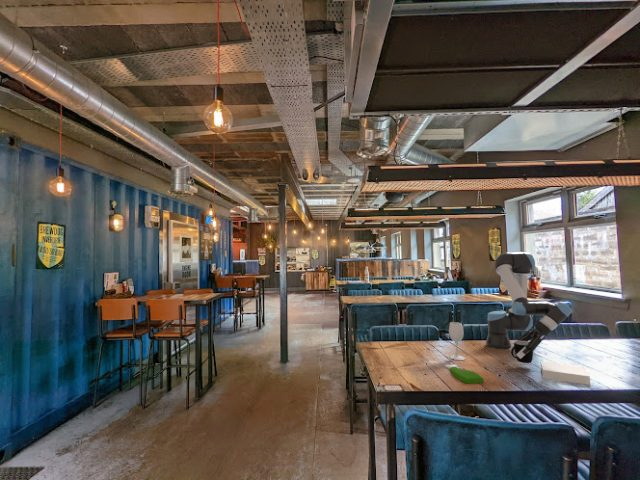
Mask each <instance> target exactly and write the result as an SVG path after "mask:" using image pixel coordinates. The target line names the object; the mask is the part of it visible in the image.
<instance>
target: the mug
mask: <svg viewBox="0 0 640 480" xmlns="http://www.w3.org/2000/svg"><path fill="white" fill-rule="evenodd" d="M529 342H530V341H518V340H514V341H513V346H514V347H513V346H512V347H513V348H512V350H511V351H510V354H511V356H512V357H513V358H514V359H516V360H517V362H519V363H522V364H531V363H532V362H533V357H534V351H532V350H531V351H529V352H528V353H527V354H525V355H524V356H523V357H522V358H521V359H520V358H519V357H518V356H517V355H516V354H517V353H518V352H519V351H521V350H522V349H523V348H524V347H525V346H527V345H528V343H529ZM526 348H527V347H526ZM514 349H515V353H513V350H514Z"/></svg>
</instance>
